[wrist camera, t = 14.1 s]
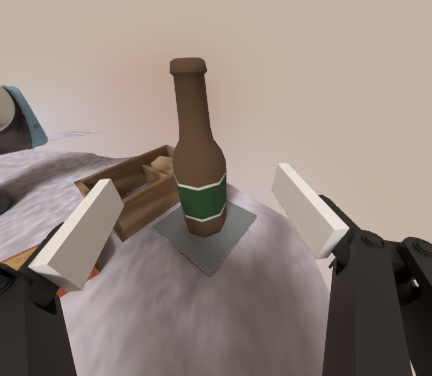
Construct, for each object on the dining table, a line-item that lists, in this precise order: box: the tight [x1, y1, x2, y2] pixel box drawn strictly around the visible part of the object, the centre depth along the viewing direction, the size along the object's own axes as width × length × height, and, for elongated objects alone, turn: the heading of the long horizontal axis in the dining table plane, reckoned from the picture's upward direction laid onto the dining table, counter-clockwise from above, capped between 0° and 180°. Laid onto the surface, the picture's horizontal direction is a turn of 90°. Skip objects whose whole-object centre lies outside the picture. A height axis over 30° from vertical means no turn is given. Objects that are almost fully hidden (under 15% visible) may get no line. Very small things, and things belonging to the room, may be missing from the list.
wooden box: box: [74, 145, 180, 242], centre depth 36 cm, size 14×22×7 cm, turn 141°
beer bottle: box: [170, 58, 226, 238], centre depth 23 cm, size 8×8×24 cm
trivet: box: [153, 201, 257, 277], centre depth 30 cm, size 14×14×1 cm
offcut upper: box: [151, 156, 173, 175], centre depth 39 cm, size 8×4×3 cm, turn 75°
